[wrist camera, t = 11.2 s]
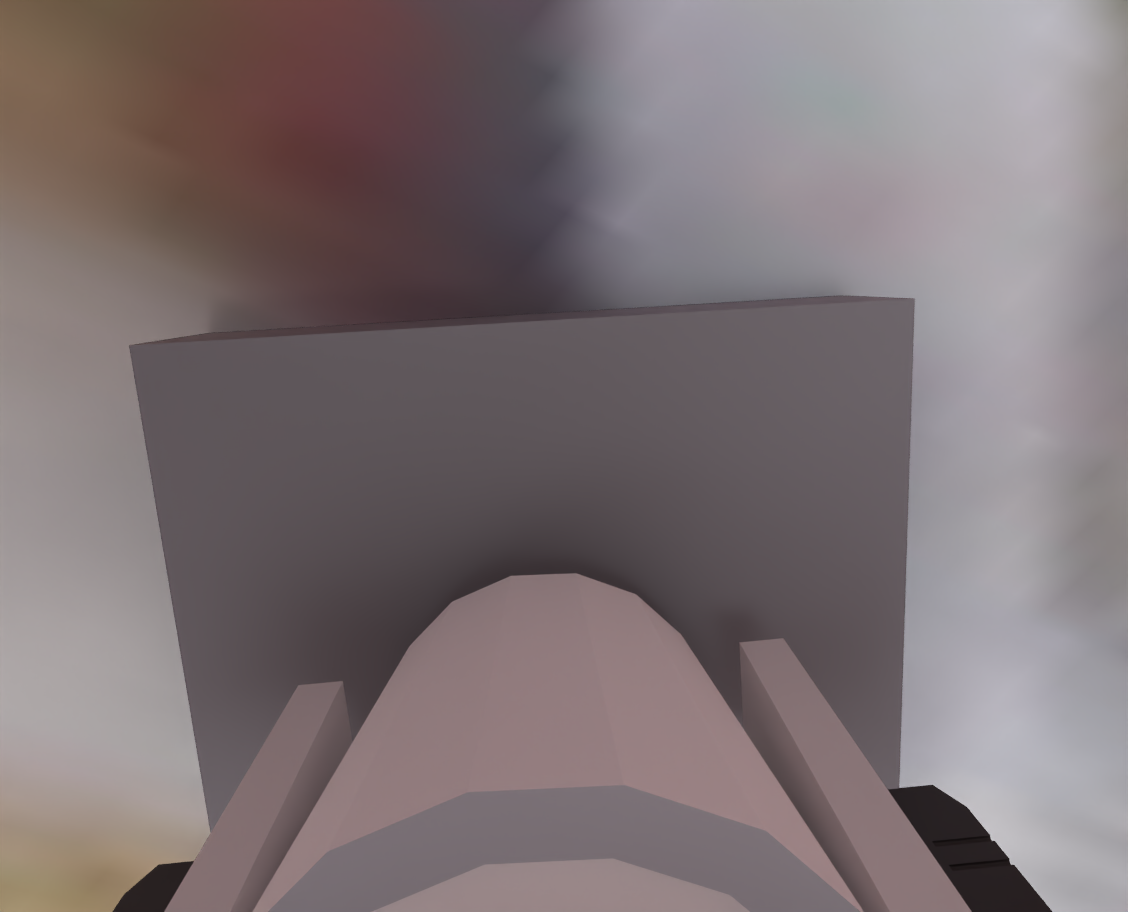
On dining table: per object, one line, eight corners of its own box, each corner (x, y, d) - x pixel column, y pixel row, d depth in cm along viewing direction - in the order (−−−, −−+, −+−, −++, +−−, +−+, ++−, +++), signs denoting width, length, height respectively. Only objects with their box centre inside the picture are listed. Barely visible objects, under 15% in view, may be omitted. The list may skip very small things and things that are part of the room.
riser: (215, 331, 18) (129, 345, 14) (834, 294, 19) (914, 298, 15) (294, 875, 21) (240, 1009, 17) (828, 836, 22) (893, 957, 18)
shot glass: (815, 759, 15) (1055, 1173, 8) (507, 954, 15) (482, 1493, 9) (596, 456, 13) (658, 639, 7) (270, 685, 14) (19, 1064, 7)
